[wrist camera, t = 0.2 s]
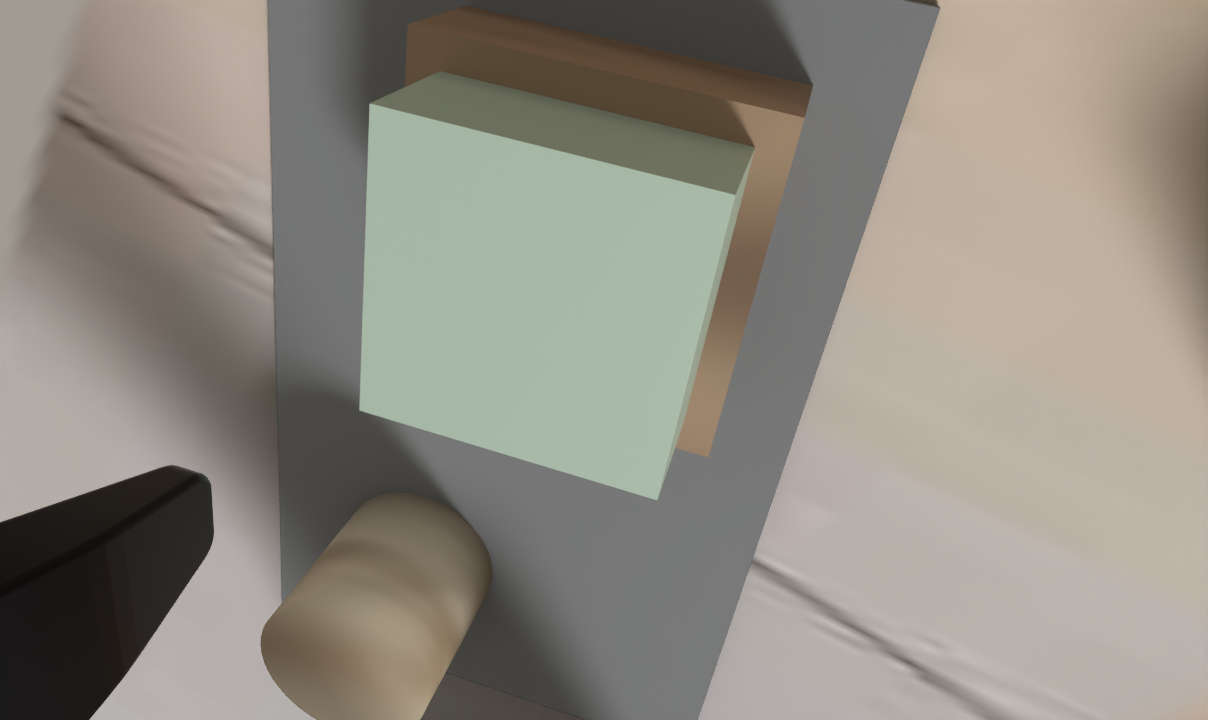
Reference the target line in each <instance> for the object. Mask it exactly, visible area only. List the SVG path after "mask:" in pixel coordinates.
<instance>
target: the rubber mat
mask: <svg viewBox="0 0 1208 720" xmlns="http://www.w3.org/2000/svg"><path fill="white" fill-rule="evenodd" d="M463 6H470V7H474V8H479V9H483V10H488V11H492V12H496V13H501V14H505V15H509V16H514V17H518V18H522V19H527V20H531V21H535V22H540V23H544V24H548V25H553V26H557V27H561V28H566V29H570V30H574V31H579V32H583V33H587V34H592V35H596V36H600V37H605V38H609V39H613V40H618V41H622V42H626V43H631V44H635V45H639V46H644V47H648V48H653V49H657V50H661V51H666V52H670V53H674V54H679V55H683V56H687V57H692V58H696V59H700V60H705V61H709V62H713V63H718V64H722V65H726V66H731V67H735V68H739V69H744V70H748V71H752V72H757V73H761V74H765V75H770V76H774V77H778V78H783V79H787V80H791V81H796V82H800V83H805V84H809V85H813V89H812V92H811V96H810V100H809V104H808V108H807V111H806V115H805V119H804V122H803V126H802V129H801V133H800V136H799V140H798V144H797V147H796V151H795V154H794V158H793V161H792V165H791V168H790V172H789V175H788V179H787V182H786V186H785V189H784V193H783V196H782V200H781V203H780V207H779V210H778V214H777V217H776V221H775V224H774V228H773V231H772V235H771V238H770V242H769V246H768V249H767V253H766V256H765V260H764V263H763V267H762V270H761V274H760V277H759V281H758V284H757V288H756V291H755V295H754V298H753V302H752V305H751V309H750V312H749V316H748V319H747V323H746V326H745V330H744V333H743V337H742V341H741V344H740V348H739V351H738V355H737V358H736V362H735V365H734V369H733V372H732V376H731V379H730V383H729V386H728V390H727V393H726V397H725V400H724V404H723V407H722V411H721V414H720V418H719V421H718V425H717V428H716V432H715V435H714V439H713V443H712V446H711V450H710V453H709V457H705V456H701V455H698V454H694V453H691V452H688V451H684V450H681V449H677V448H675V450H674V453H673V456H672V459H671V462H670V464H669V467H668V470H667V473H666V476H665V479H664V482H663V485H662V488H661V491H660V494H659V497H658V500H654V499H651V498H648V497H644V496H641V495H638V494H634V493H631V492H628V491H625V490H621V489H618V488H615V487H611V486H608V485H605V484H601V483H598V482H595V481H591V480H588V479H585V478H581V477H578V476H575V475H572V474H568V473H565V472H562V471H558V470H555V469H552V468H548V467H545V466H542V465H538V464H535V463H532V462H528V461H525V460H522V459H518V458H515V457H512V456H509V455H505V454H502V453H499V452H495V451H492V450H489V449H485V448H482V447H479V446H475V445H472V444H469V443H465V442H462V441H459V440H455V439H452V438H449V437H446V436H442V435H439V434H436V433H432V432H429V431H426V430H422V429H419V428H416V427H412V426H409V425H406V424H402V423H399V422H396V421H392V420H389V419H386V418H383V417H379V416H376V415H373V414H369V413H366V412H363V411H359V407H360V377H361V347H362V316H363V286H364V256H365V226H366V196H367V166H368V135H369V105H370V103H372V102H374V101H376V100H378V99H380V98H383V97H385V96H387V95H389V94H391V93H394V92H396V91H398V90H400V89H402V88H404V87H405V69H406V50H407V31H408V24H411V23H414V22H417V21H420V20H423V19H426V18H429V17H432V16H435V15H438V14H441V13H444V12H447V11H450V10H453V9H457V8H460V7H463ZM939 10H940V7H939V6H938V5H933V4H928V3H924V2H919V1H914V0H268V30H269V72H270V114H271V157H272V199H273V241H274V284H275V326H276V368H277V411H278V453H279V495H280V538H281V580H282V602H283V601H284V600H285V599H286V598H287V596H288V595H289V594H290V593H291V591H292V590H293V589H294V588H295V586H296V585H297V584H298V583H299V581H300V580H301V579H302V578H303V576H304V575H305V574H306V573H307V571H308V570H309V569H310V568H311V567H312V565H313V564H314V563H315V562H316V560H317V559H318V558H319V557H320V555H321V554H322V553H323V552H324V550H325V549H326V548H327V547H328V545H329V544H330V543H331V542H332V540H333V539H334V538H335V537H336V536H337V534H338V533H339V532H340V531H341V529H342V528H343V527H344V526H345V524H346V523H347V522H348V521H349V519H350V518H351V517H352V516H353V514H354V513H355V512H356V511H357V509H358V508H359V507H360V506H361V505H362V504H363V503H365V502H366V501H368V500H369V499H371V498H373V497H376V496H378V495H382V494H386V493H395V492H399V493H411V494H417V495H420V496H424V497H427V498H430V499H433V500H435V501H437V502H439V503H441V504H443V505H445V506H447V507H448V508H450V509H452V510H453V511H455V512H456V513H457V514H459V515H460V516H461V517H462V518H464V519H465V520H466V521H467V522H468V523H469V524H470V525H471V526H472V527H473V528H474V530H475V531H476V532H477V533H478V535H479V536H480V537H481V539H482V541H483V542H484V544H485V546H486V548H487V550H488V553H489V555H490V559H491V563H492V570H493V575H492V583H491V587H490V589H489V591H488V594H487V595H486V597H485V599H484V601H483V603H482V605H481V607H480V609H479V610H478V612H477V614H476V616H475V618H474V620H473V622H472V624H471V626H470V627H469V629H468V631H467V633H466V635H465V637H464V639H463V641H462V642H461V644H460V646H459V648H458V650H457V652H456V654H455V656H454V658H453V659H452V661H451V663H450V665H449V667H448V669H447V671H446V673H449V674H452V675H455V676H458V677H461V678H464V679H467V680H470V681H473V682H476V683H479V684H481V685H484V686H487V687H490V688H493V689H496V690H499V691H502V692H505V693H508V694H511V695H514V696H517V697H520V698H523V699H526V700H529V701H531V702H534V703H537V704H540V705H543V706H546V707H549V708H552V709H555V710H558V711H561V712H564V713H567V714H570V715H573V716H576V717H578V718H581V719H584V720H698V717H699V714H700V711H701V709H702V706H703V703H704V700H705V697H706V694H707V691H708V688H709V685H710V682H711V679H712V676H713V673H714V670H715V667H716V665H717V662H718V659H719V656H720V653H721V650H722V647H723V644H724V641H725V638H726V635H727V632H728V629H729V626H730V623H731V621H732V618H733V615H734V612H735V609H736V606H737V603H738V600H739V597H740V594H741V591H742V588H743V585H744V582H745V579H746V576H747V574H748V571H749V568H750V565H751V562H752V559H753V556H754V553H755V550H756V547H757V544H758V541H759V538H760V535H761V532H762V530H763V527H764V524H765V521H766V518H767V515H768V512H769V509H770V506H771V503H772V500H773V497H774V494H775V491H776V488H777V486H778V483H779V480H780V477H781V474H782V471H783V468H784V465H785V462H786V459H787V456H788V453H789V450H790V447H791V444H792V441H793V439H794V436H795V433H796V430H797V427H798V424H799V421H800V418H801V415H802V412H803V409H804V406H805V403H806V400H807V397H808V395H809V392H810V389H811V386H812V383H813V380H814V377H815V374H816V371H817V368H818V365H819V362H820V359H821V356H822V353H823V351H824V348H825V345H826V342H827V339H828V336H829V333H830V330H831V327H832V324H833V321H834V318H835V315H836V312H837V309H838V306H839V304H840V301H841V298H842V295H843V292H844V289H845V286H846V283H847V280H848V277H849V274H850V271H851V268H852V265H853V262H854V260H855V257H856V254H857V251H858V248H859V245H860V242H861V239H862V236H863V233H864V230H865V227H866V224H867V221H868V218H869V216H870V213H871V210H872V207H873V204H874V201H875V198H876V195H877V192H878V189H879V186H880V183H881V180H882V177H883V174H884V171H885V169H886V166H887V163H888V160H889V157H890V154H891V151H892V148H893V145H894V142H895V139H896V136H897V133H898V130H899V127H900V125H901V122H902V119H903V116H904V113H905V110H906V107H907V104H908V101H909V98H910V95H911V92H912V89H913V86H914V83H915V81H916V78H917V75H918V72H919V69H920V66H921V63H922V60H923V57H924V54H925V51H926V48H927V45H928V42H929V39H930V36H931V34H932V31H933V28H934V25H935V22H936V19H937V16H938V13H939Z"/></svg>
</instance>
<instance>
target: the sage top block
mask: <svg viewBox="0 0 1208 720" xmlns="http://www.w3.org/2000/svg"><path fill="white" fill-rule="evenodd" d="M754 150H755V147H752V146H748V145H744V144H740V143H735V142H731V141H727V140H723V139H719V138H715V137H711V136H706V135H702V134H698V133H694V132H690V131H686V130H682V129H678V128H673V127H669V126H665V125H661V124H657V123H653V122H649V121H645V120H640V119H636V118H632V117H628V116H624V115H620V114H616V113H611V112H607V111H603V110H599V109H595V108H591V107H587V106H583V105H578V104H574V103H570V102H566V101H562V100H558V99H554V98H549V97H545V96H541V95H537V94H533V93H529V92H525V91H521V90H516V89H512V88H508V87H504V86H500V85H496V84H492V83H487V82H483V81H479V80H475V79H471V78H467V77H463V76H459V75H454V74H450V73H446V72H442V71H439V72H437V73H435V74H433V75H431V76H428V77H426V78H424V79H422V80H420V81H417V82H415V83H413V84H411V85H409V86H407V87H404V88H402V89H400V90H398V91H396V92H394V93H391V94H389V95H387V96H385V97H383V98H380V99H378V100H376V101H374V102H372V103H370V105H369V135H368V166H367V196H366V226H365V256H364V286H363V316H362V347H361V377H360V407H359V411H363V412H366V413H369V414H373V415H376V416H379V417H383V418H386V419H389V420H392V421H396V422H399V423H402V424H406V425H409V426H412V427H416V428H419V429H422V430H426V431H429V432H432V433H436V434H439V435H442V436H446V437H449V438H452V439H455V440H459V441H462V442H465V443H469V444H472V445H475V446H479V447H482V448H485V449H489V450H492V451H495V452H499V453H502V454H505V455H509V456H512V457H515V458H518V459H522V460H525V461H528V462H532V463H535V464H538V465H542V466H545V467H548V468H552V469H555V470H558V471H562V472H565V473H568V474H572V475H575V476H578V477H581V478H585V479H588V480H591V481H595V482H598V483H601V484H605V485H608V486H611V487H615V488H618V489H621V490H625V491H628V492H631V493H634V494H638V495H641V496H644V497H648V498H651V499H654V500H658V497H659V494H660V491H661V488H662V485H663V482H664V479H665V476H666V473H667V470H668V467H669V464H670V462H671V459H672V456H673V453H674V450H675V447H676V444H677V441H678V438H679V435H680V432H681V429H682V426H683V423H684V419H685V416H686V412H687V408H688V404H689V400H690V396H691V393H692V389H693V385H694V381H695V377H696V373H697V369H698V366H699V362H700V358H701V354H702V350H703V346H704V343H705V339H706V335H707V331H708V327H709V323H710V320H711V316H712V312H713V308H714V304H715V300H716V296H717V293H718V289H719V285H720V281H721V277H722V273H723V270H724V266H725V262H726V258H727V254H728V250H729V247H730V243H731V239H732V235H733V231H734V227H735V223H736V220H737V216H738V212H739V208H740V204H741V200H742V197H743V193H744V189H745V185H746V181H747V177H748V173H749V170H750V166H751V162H752V158H753V154H754Z"/></svg>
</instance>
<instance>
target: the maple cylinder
mask: <svg viewBox="0 0 1208 720" xmlns="http://www.w3.org/2000/svg"><path fill="white" fill-rule="evenodd" d="M492 575H493V570H492V563H491V559H490V555H489V553H488V550H487V548H486V546H485V544H484V542H483V541H482V539H481V537H480V536H479V535H478V533H477V532H476V531H475V530H474V528H473V527H472V526H471V525H470V524H469V523H468V522H467V521H466V520H465V519H464V518H462V517H461V516H460V515H459V514H457V513H456V512H455V511H453V510H452V509H450V508H448V507H447V506H445V505H443V504H441V503H439V502H437V501H435V500H433V499H430V498H427V497H424V496H420V495H417V494H411V493H399V492H395V493H386V494H382V495H378V496H376V497H373V498H371V499H369V500H368V501H366V502H365V503H363V504H362V505H361V506H360V507H359V508H358V509H357V511H356V512H355V513H354V514H353V516H352V517H351V518H350V519H349V521H348V522H347V523H346V524H345V526H344V527H343V528H342V529H341V531H340V532H339V533H338V534H337V536H336V537H335V538H334V539H333V540H332V542H331V543H330V544H329V545H328V547H327V548H326V549H325V550H324V552H323V553H322V554H321V555H320V557H319V558H318V559H317V560H316V562H315V563H314V564H313V565H312V567H311V568H310V569H309V570H308V571H307V573H306V574H305V575H304V576H303V578H302V579H301V580H300V581H299V583H298V584H297V585H296V586H295V588H294V589H293V590H292V591H291V593H290V594H289V595H288V596H287V598H286V599H285V600H284V601H283V602H282V604H281V605H280V606H279V607H278V609H277V610H276V611H275V612H274V614H273V615H272V616H271V617H270V619H269V620H268V621H267V623H266V624H265V626H264V628H263V631H262V635H261V651H262V656H263V659H264V663H265V665H266V667H267V670H268V671H269V673H270V675H271V677H272V679H273V680H274V681H275V683H276V684H277V686H278V687H279V688H280V689H281V690H282V692H283V693H284V694H285V695H286V696H287V697H288V698H289V699H290V700H291V701H292V702H293V703H294V704H296V705H297V706H298V707H299V708H300V709H302V710H303V711H304V712H306V713H307V714H309V715H310V716H312V717H313V718H315V719H317V720H420V719H421V718H422V716H423V714H424V712H425V710H426V708H427V706H428V705H429V703H430V701H431V699H432V697H433V695H434V693H435V691H436V690H437V688H438V686H439V684H440V682H441V680H442V678H443V676H444V674H445V673H446V671H447V669H448V667H449V665H450V663H451V661H452V659H453V658H454V656H455V654H456V652H457V650H458V648H459V646H460V644H461V642H462V641H463V639H464V637H465V635H466V633H467V631H468V629H469V627H470V626H471V624H472V622H473V620H474V618H475V616H476V614H477V612H478V610H479V609H480V607H481V605H482V603H483V601H484V599H485V597H486V595H487V594H488V591H489V589H490V587H491V583H492Z"/></svg>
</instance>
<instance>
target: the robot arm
mask: <svg viewBox="0 0 1208 720" xmlns="http://www.w3.org/2000/svg"><path fill="white" fill-rule="evenodd" d="M213 536H214V526H213V509H212V493H211V484H210V481H209V480H208V478H207V477H206V476H204V475H203V474H201V473H198V472H195V471H191V470H188V469H185V468H182V467H179V466H173V465H170V466H165V467H161V468H158V469H155V470H152V471H149V472H147V473H144V474H141V475H138V476H135V477H132V478H129V479H126V480H123V481H120V482H117V483H114V484H111V485H108V486H106V487H103V488H100V489H97V490H94V491H91V492H88V493H85V494H82V495H79V496H76V497H73V498H70V499H67V500H65V501H62V502H59V503H56V504H53V505H50V506H47V507H44V508H41V509H38V510H35V511H32V512H29V513H26V514H24V515H21V516H18V517H15V518H12V519H9V520H6V521H3V522H0V720H89V719H90V718H91V717H92V716H93V714H94V713H95V712H96V711H97V710H98V708H99V707H100V706H101V705H102V704H103V702H104V701H105V700H106V699H107V698H108V696H109V695H110V694H111V693H112V691H113V690H114V689H115V688H116V686H117V685H118V684H119V683H120V681H121V680H122V679H123V677H124V676H125V675H126V673H127V672H128V671H129V669H130V668H131V666H132V665H133V664H134V662H135V661H136V660H137V658H138V657H139V655H140V654H141V652H142V651H143V649H144V648H145V646H146V645H147V643H148V642H149V640H150V639H151V637H152V636H153V634H154V633H155V632H156V630H157V629H158V627H159V626H160V624H161V623H162V621H163V620H164V618H165V617H166V615H167V614H168V612H169V611H170V609H171V608H172V606H173V605H174V603H175V602H176V600H177V599H178V597H179V596H180V594H181V593H182V591H183V590H184V588H185V587H186V585H187V584H188V583H189V581H190V580H191V578H192V577H193V575H194V574H195V572H196V571H197V569H198V568H199V566H200V565H201V563H202V562H203V560H204V559H205V557H206V555H207V554H208V552H209V550H210V547H211V544H212V541H213Z"/></svg>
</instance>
